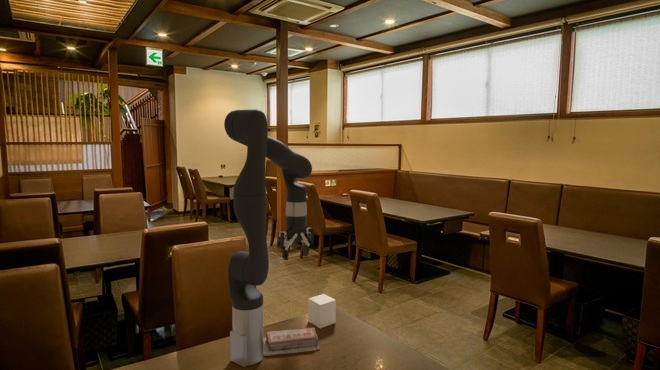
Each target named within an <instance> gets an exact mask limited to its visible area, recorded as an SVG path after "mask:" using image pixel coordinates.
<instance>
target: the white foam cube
mask: <svg viewBox="0 0 660 370" xmlns="http://www.w3.org/2000/svg"><path fill="white" fill-rule="evenodd" d="M307 301H308V302H307V303H308V305H307V307H308V308H307V309H308V310H307V313H308V316H307V317H308V319H307V321H308V322H309V323H311V325H314V326H315V327H316V328H319V329H322V328H323V329H324V328H325V327H327V326H328V327H329V326H330V325H334V324H336V321H337V320H336V316H337V314H336V313H337V309H336V307H337V300H336V299H335V298H333V297H331V296H329V295H327V294H326V293H323V294H319V295H316V296H312V297H309V298H308V300H307Z"/></svg>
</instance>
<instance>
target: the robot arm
mask: <svg viewBox="0 0 660 370" xmlns="http://www.w3.org/2000/svg"><path fill="white" fill-rule="evenodd" d="M266 116H267V115H266V114H265V112H264V111H262V110H261V109H254V108H253V109H236V110H231V111H230V112H229V113H227V115H226V116H225V119H224V122H223V123H224V124H223V126H224V130H225V133H226V135H227V136H228V138H230V139H231V140H233V141H235V142H237V143H239V144H241V145H244V146H245V147H247V150H246V151H247V152H246V159H245V162H244V165H243V167H242V168H241V171H240V173H239V174H238V177H236V178H237V179H236V180H235V183H234V185H233V193H232V195H233V196H232V198H233V211H234V215H235V217H236V219H237V222H239V225H240V227H241V228H242V230H243V232H244V234H245V236H246V240H247V245H248V251H245V250H244V251H243V250H238V251H236V252H234V253H233V254H232V255H231V257H230V259H229V262H228V266H227V267H228V269H227V277H228V279H227V280H228V289H229V290H228V293H229V298H230V300H231V305H232V308H231V309H232V313H231V316H232V317H231V318H232V319H231V321H232V330H230V332H229V341H230V342H229V350H230V351H229V352H230V354H229V356H230V358H229V359H230V361H231V362H233V363H235V364H236V365H239V366H240V367H242V368H246V367H247V366H253V365H256V364H258V363H260V362H261V361H262V360H263V359H264V357H265V356H264V344H263V337H264V295H263V293H262V292H261V291H260V290H259V289H257V288H256V286H261V285H263V284H264V283H265V282H266V280H267V278H268V274H269V269H270V261H269V251H268V243H267V230H266V228H267V227H266V226H267V223H266V201H267V200H266V197H267V195H266V158H267V159H268V160H269V161H270V162H272V163H273V164H274V165H276V166H277V167H279V168H280V169H281V172H282V176H283V179H284V184H285V187H286V204H285V231H281V230H278V231H277V242H276V247H277V248H278V249H280V250H281V251H282V252H281V254H282V255H281V257H282V259H283V260H284V261H288V260H289V248H290V246H292V244H293V243H298V242H301V243H302V244H303V246H302V256H304V257H308V256H309V253H310V246H311V245H313V244H314V242H315V239H314V236H315V235H314V228H312V227H310V226H308V227H307V224H308V223H307V221H308V220H307V219H308V218H307V217H308V216H307V215H308V208H307V206H308V204H307V187H306V185H304V184H301V183H299V182H298V181H297V179H306V178H308V177H310V175H311V174H312V171H313V166H312V163H311V161H310V160H309V159H308V158H307V157H305V156H304V155H301V154H300V153H298V152H295V151H293V150H292V148H290V147H289V146H287V145H286V144H285V143H283V142H282V141H280V140H279V139H276V138H274V137H272V136H269V125H268V118H267V117H266Z"/></svg>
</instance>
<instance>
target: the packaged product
mask: <svg viewBox="0 0 660 370" xmlns="http://www.w3.org/2000/svg"><path fill="white" fill-rule="evenodd" d="M318 337H319V336H318V334H317V333H316V328H315V327H305V328H295V329H294V328H293V329H283V330H273V331H272V330H271V331H267V332H266V333H265V336H263V344H264V357H267V356H269V357H270V356H274V355H276V356H277V355H284V354H285V355H286V354H296V353H304V352H312V351H313V352H314V351H315V352H316V351H319V350H321V349H320V348H321V347H320V345H319V338H318Z"/></svg>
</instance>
